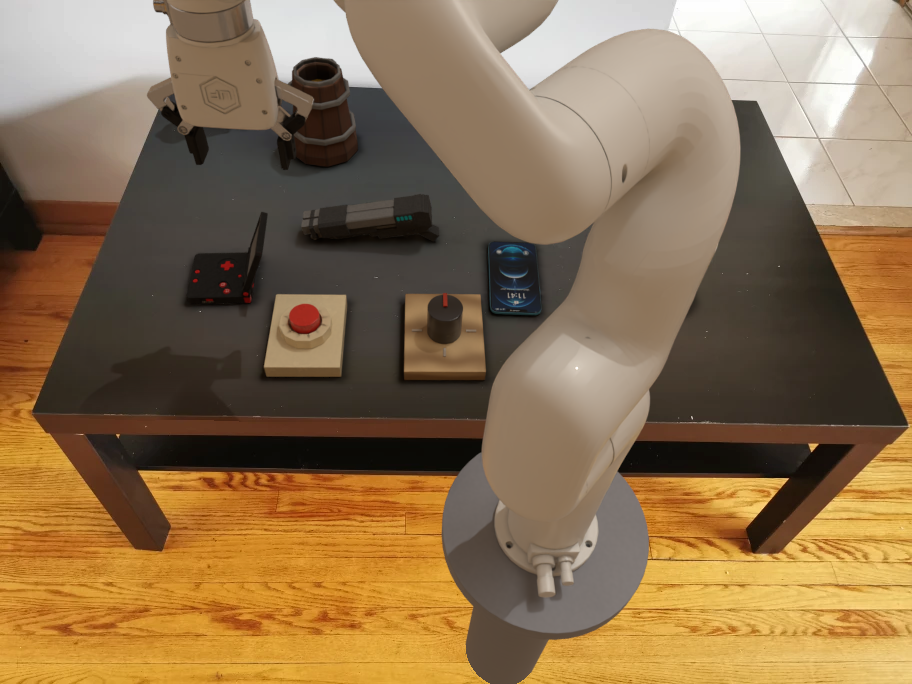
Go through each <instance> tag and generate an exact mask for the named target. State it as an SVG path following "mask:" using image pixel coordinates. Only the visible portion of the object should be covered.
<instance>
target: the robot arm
mask: <svg viewBox="0 0 912 684" xmlns="http://www.w3.org/2000/svg"><path fill="white" fill-rule="evenodd" d="M333 2H334V3H335V4H336V6H338V7H339V8H340V10H342V11H343V12H344V13H345V18H346V19H345V20H346V22H347V26H348V30H349V33H350V36H351V39H352V41H353V43H354V45H355V48H356V49H357V51H358V54H359V55H360V57H361V59H362V61H363V62H364V64H365V66H366V67H367V68H368V70H369V72H370V73H371V75H372V76H373V78H374V79H375V80H376V82H377V83H378V85H379V86H380V88H382V90H383V91H384V93H385V94H386V95H387V97H388V98H389V99H390V100H391V102H392V103H393V104H394V105H395V107H396V108H397V109H398V110H399V111H400V112H401V113H402V115H403V116H404V117H405V118H406V120H407V121H408V122H409V123H410V125H411V126H412V127H413V128H414V129H415V131H416V132H417V133H418V134H419V136H420V137H421V138H422V139H423V141H425V143H426V144H427V145H428V146H429V147H430V149H431V150H432V151H433V153H434V154H435V155H436V156H437V157H438V158H439V160H440V161H441V162H442V164H443V165H444V166H445V167H446V168H447V170H448V171H449V172H450V173H451V175H452V176H453V177H454V178H455V179H456V181H457V183H459V184H460V186H461V187H462V189H463V190H464V191H465V192H466V194H467V195H468V196H469V197H470V198H471V199H472V201H473V202H474V203H475V204H476V206H477V207H478V208H479V209H480V210H481V211H482V212H483V213H484V214H485V215H486V216H487V217H488V218H489V219H490V220H491V221H492V222H493V223H494V224H495V225H496V226H497V227H499V228H500V229H502V230H503V231H505V232H506V233H508V234H509V235H510V236H512V237H514V238H516V239H519V240H521V241H522V242H525V243H532V244H534V245H535V244H536V245H543V246H547V245H548V246H549V245H555V244H558V243H559V244H560V243H563V242H565V241H567V240H569V239H572V238H574V237H576V236H578V235H579V234H581V233H583V232H584V231H585V230H587V229H588V228H589V227H590V226H591V225H592V226H591V227H590V229H589V232H588V234H587V237H586V240H585V242H584V245H583V249H582V254H581V259H580V264H579V267H578V269H577V272H576V276H575V278H574V281H573V284H572V287H571V289H570V290H569V292H568V294H567V296H566V297H565V299H564V300H563V301H562V302H561V303H560V305H559V306H558V307H556V309H555V310H554V311H553V312H552V313H551V314H549V316H548V317H547V318H546V319H545V320H544V321H543V322H542V323H541V324H540V325H538V327H537V328H536V329H535V330H534V331H532V332H531V334H530V335H529V336H528V337H526V339H525V340H524V341H523V342H522V343H520V345H518V347H517V348H516V349H515V350H514V351H513V352H512V353H511V354H510V355H509V356H508V358H507V359H506V360H505V362H504V363H503V364H502V365H501V368H500V369H499V371H498V372H497V374H496V375H495V378H494V380H493V383H492V386H491V389H490V394H489V400H488V404H487V405H488V406H487V412H486V419H485V424H484V429H483V437H482V443H481V452H482V463H483V468H484V472H485V475H486V478H487V480H488V482H489V484H490V486H491V488H492V490H493V491H494V493H495V494H496V496H497V497H498V498H499V499H500V500H499V503H498V505H497V508H496V512H495V519H494V527H495V533H496V537H497V540H498V542H499V545H500V547H501V548H502V550H503V551H504V553H505V554H506V555H507V557H508V558H509V559H510V560H511V561H512V562H513V563H515V564H516V565H517V566H519V567H520V568H522V569H524V570H526V571H527V572H530V573H533V574H536V575H537V577H538V579H537V586H538V596H540V597H545V598H547V597H552V596H555V595H556V594H555V585H554V578H553V576H561V581H562V585H564V586H570V585H573V584H574V580H573V573H572V572H573V571H575V570H577V569H578V568H579V567H581V566H582V565H583V564H584V563H585V562H586V561H587V560H588V558H589V557H590V556H591V554H592V552H593V550H594V548H595V545H596V543H597V538H598V521H597V517H596V512H597V510H598V508H599V506H600V504H601V502H602V500H603V498H604V496H605V494H606V492H607V490H608V489H609V487H610V485H611V483H612V481H613V479H614V476H615V474H616V473H617V471H618V472H619V468H620V467H621V465H622V463H623V462H624V461H625V458H626V456H627V455H628V454H629V452H630V450H631V448H632V447H633V445H634V443H635V442H636V441H637V440H638V437H639V436H640V435H641V432H642V430H643V428H644V426H645V424H646V422H647V420H648V417H649V412H650V408H651V407H650V406H651V393H650V389H651V388H652V386H653V385H654V383H655V382H656V380H657V379H658V377H660V374H661V373H662V372H663V370H664V367H665V365H666V363H667V361H668V358H669V355H670V353H671V351H672V348H673V346H674V343H675V340H676V338H677V336H678V334H679V333H680V329H681V328H682V325H683V324H684V321H685V319H686V317H687V314H688V313H689V310H690V308H691V306H692V305H693V302H694V300H695V298H696V294H697V292H698V290H699V288H700V286H699V284H700V285H701V283H702V281H703V279H704V277H705V275H704V273H705V271H706V269H707V267H708V268H709V266H710V264H711V262H710V260H711V258H712V256H713V254H714V252H715V249H716V247H717V245H718V246H719V242H720V240H721V237H722V235H723V234H724V231H725V228H726V225H727V222H728V219H729V217H730V213H731V210H732V207H733V203H734V199H735V196H736V191H737V186H738V181H739V175H740V167H741V166H740V165H741V135H740V128H739V122H738V118H737V113H736V109H735V106H734V103H733V100H732V98H731V96H730V95H731V94H730V93H729V90H728V88H727V86H726V83H725V82H724V81H723V78H722V77H721V75H720V72H719V71H718V70H717V68H716V67H715V66H714V64H713V62H712V61H711V60H710V59H709V58H708V57H707V56H706V54H704V53H703V51H701V49H699V48H698V47H697V46H696V45H695V44H694V43H692V42H691V41H690V40H688V38H686V37H684V36H682V35H680V34H677V33H675V32H673V31H669V30H665V29H658V28H641V29H635V30H630V31H625V32H623V33H620V34H617V35H613V36H612V37H610V38H607V39H606V40H603V41H601V42H600V43H597V44H595V45H594V46H592V47H589V48H588V49H587V50H585V51H584V52H582V53H580V54H579V55H577V56H576V57H574V58H572V59H571V60H570V61H569V62H567V63H565V64H564V65H563V66H561V67H560V68H558V69H557V70H555V71H554V72H552V74H550V75H548V76H546V78H544V79H543V80H541V81H540V82H537V84H535V85H534V86H532V87H531V88H528V87H527V85H526V84H525V83H524V81H523V80H522V79H521V78H520V76H519V75H518V74H517V73H516V71H515V70H514V69H513V67H512V66H511V65H510V64H509V62H508V61H507V60H506V59H505V57H504V56H503V55H502V53H504V52H505V51H507V50H509V49H511V48H512V47H514V46H515V45H517V44H518V43H520V42H522V41H523V40H524V39H526V38H527V37H529V36H530V35H531V34H532V33H534V32H535V31H536V30H537V29H538V28H539V27H540V26H542V25H543V23H545V21H546V20H547V19H548V18H549V16H550V15H551V14H552V12H553V10H555V7H556V6H557V5H558V2H559V0H333ZM152 7H153V10H154V12H155V13H162V14H163V15H166V16H167V17H168V21H169V24H168V26H167V28H166V29H165V44H166V53H167V60H168V67H169V68H168V69H169V73H170V77H168V78H166V79H164V80H162V81H160V82H157V83H155V84H154V85H151V86H150V87H149V89H148V91H147V93H146V97H147V99H148V100H149V101H150V103H152V105H153V106H154V107H155V108H156V109H158V111H160V114H161V116H162V117H163V118H164V119H165V120H167V121H168V122H170V123H171V124H172V125H174V126H175V127H176V128H177V129H176V130H177V132H178V133H179V134H181V135H183V136H184V140H185V142H186V147H187V149H188V152H189V154H192V156H193V160H194V163H195V165H196V166H202V165H204V163H205V161H206V158H207V155H208V154H209V150H210V147H209V143H208V139H207V136H206V132H205V128H211V129H226V130H227V129H228V130H245V131H266V130H270V129H271V130H272V131H273V132H274V133H275V134H276V135H277V140H276V145H277V151H278V157H279V158H278V159H279V162H280V168H281V169H282V170H283V171H289V170H290V166H291V162H292V160H296V158H297V157H296V145H295V139H294V134H295V133H296V132H297V131H298V130H299V129H300V128H301V127H303V126H304V124H305V121H306V119H307V117H308V115H309V113H310V111H311V109H312V106H313V102H314V98H313V97H312V96H310V95H308V94H306V93H304V92H302V91H300V90H298V89H296V88H294V87H292V86H290V85H288V83H286V82H284V81H282V80H280V79H279V75H278V71H277V68H276V67H277V66H276V63H275V60H274V56H273V54H272V50H271V47H270V43H269V41H268V38H267V36H266V34H265V31H264V29H263V26H262V24H261V22H260V21H259V19H256V18H254V14H253V9H252V3H251V0H152ZM172 95H174V99H175V102H174V101H172V100H171V99H170V97H171V96H172ZM283 101H284V102H286V103H288V104H290V105H292V106H293V105H294V106H296V107H297V110H296V111H295V112H294V113H293V112H292V114H290V113H289V112H288V111H287V110H286V109H284V107H282V104H283ZM717 248H718V247H717ZM716 250H717V249H716ZM715 253H716V252H715ZM714 255H715V254H714ZM713 257H714V256H713ZM712 259H713V258H712ZM711 261H712V260H711ZM709 263H710V264H709ZM708 265H709V266H708ZM707 270H708V269H707ZM706 272H707V271H706ZM705 274H706V273H705ZM703 276H704V277H703ZM702 278H703V279H702ZM701 280H702V281H701ZM700 282H701V283H700ZM698 287H699V288H698ZM697 289H698V290H697ZM586 545H588V546H589V547H587V546H586ZM507 546H510V547H511V548H507ZM552 569H553V571H552Z"/></svg>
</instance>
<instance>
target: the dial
mask: <svg viewBox="0 0 912 684" xmlns="http://www.w3.org/2000/svg"><path fill="white" fill-rule="evenodd" d="M442 294H443V295H438V296H435V297H434V298H432V299H431V300H430V302H429V303H428V308H427V334H428V336H429V337H430V338H431V339H432V340H433V341H434V342H437V343H440V344H449V343H452V342H454V341H456V340H457V339H458V338H459V337H460V335H461V328H462V317H463V305H462V303H461V301H460V300H459V299H458V298H456V297H454V296H452V295H447V294H448V293H447V292H443V293H442Z"/></svg>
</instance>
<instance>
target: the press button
mask: <svg viewBox="0 0 912 684" xmlns="http://www.w3.org/2000/svg"><path fill="white" fill-rule="evenodd" d="M289 319H290V324H291V327H292V329H293V330H294V331H295V332H297V333H300V334H308V333H312V332H314V331H315V330H316V329H317V328H318V327H319V325H320V316H319V311H318V309H317V308H316V307H315V306H313V305H311V304H300V305H297V306H295V307H294V308H293V309H292V310H291V311H290V313H289Z"/></svg>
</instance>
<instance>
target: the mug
mask: <svg viewBox="0 0 912 684" xmlns="http://www.w3.org/2000/svg"><path fill="white" fill-rule="evenodd" d="M343 74H344V73H343V71H342V68H341V66H340V64H339V63H337V61H335V60H334V59H333V58H330V57H329V58H328V57H327V58H326V57H318V56H313V57H309V58H305V59H301V60H300V61H299V62H297V63H296V64H295V65H294V66H293V67H292V70H291V80H290V81H289V82H288V83H287V84H288V85H290V86H292V87H294V88H296V89H298V90H300V91H302V92H304V93H306V94H308V95H310V96H312V97H313V98H314V102H313V106H312V109H311V111H310V113H309V115H308V117H307V119H306V121H305V124H304V126H303V127H301V128H300V129H299V130H298V131H297V132H296V133H295V134H294V139H295V145H296V158H297V159H298V160H300V161H301V162H303V163H304V164H305V165H310V166H318V167H324V168H325V167H326V168H329V167H332V166H335V165H339V164H343V163H347V162H348V161H349V160H351V158H352V157H353V156H354V155H355V154H356V153H357V152H358V151H359V144H358V137H357V136H358V135H357V125H356V119H355V113H354V112H352V111H351V110H350V108H349V107H350V106H349V103H348V102H349V101H348V98H349V97H350V96H351V89H350V84H349V80H348V79H346V78H345V77H344V75H343ZM296 110H297V107H296V106H294V105H292V114H293V113H294V112H295V111H296Z"/></svg>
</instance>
